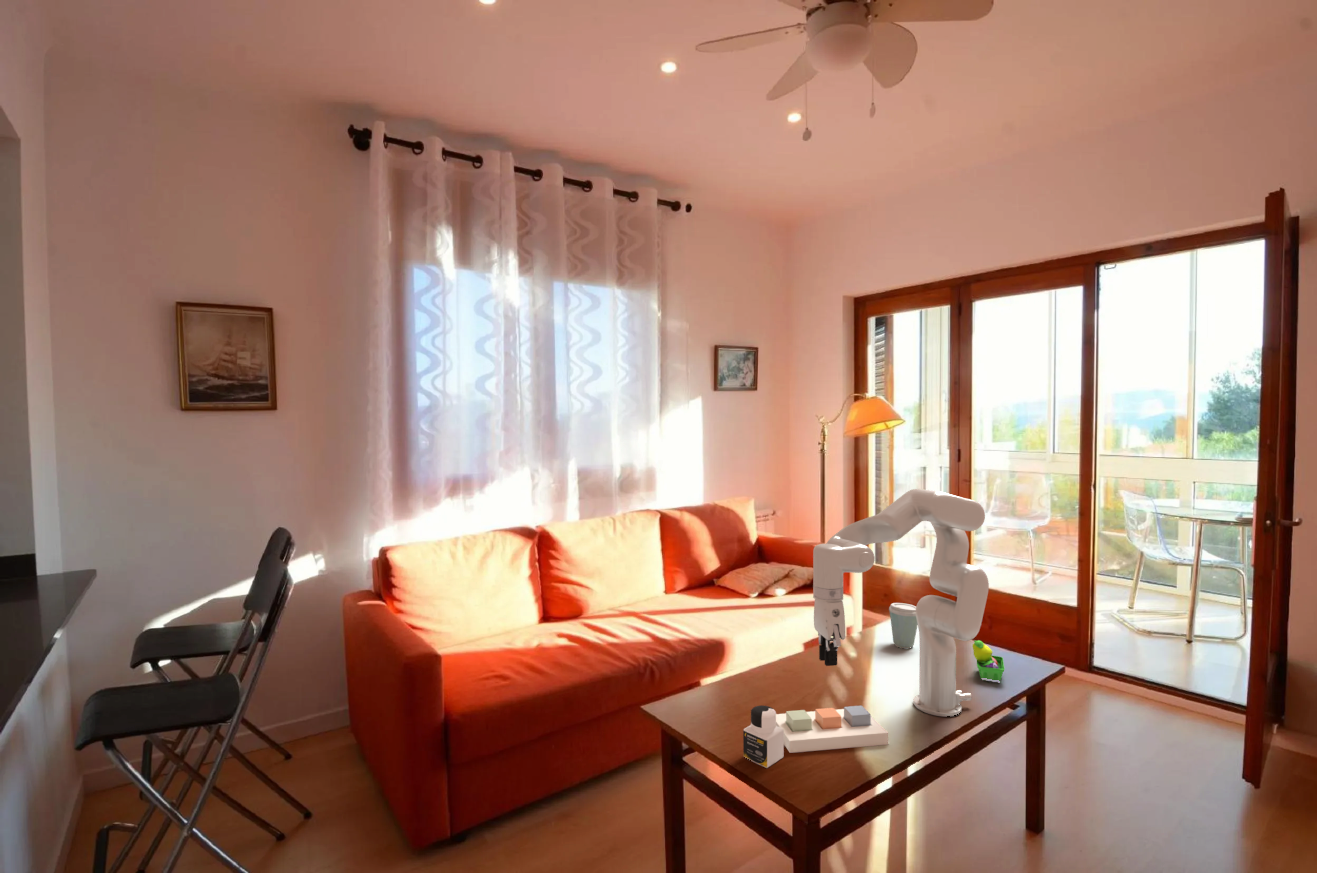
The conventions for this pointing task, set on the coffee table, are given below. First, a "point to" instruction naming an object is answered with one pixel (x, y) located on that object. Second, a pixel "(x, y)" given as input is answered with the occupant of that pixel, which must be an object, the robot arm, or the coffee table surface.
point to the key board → (831, 735)
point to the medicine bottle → (763, 737)
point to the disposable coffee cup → (903, 624)
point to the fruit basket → (988, 662)
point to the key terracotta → (828, 718)
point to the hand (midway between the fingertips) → (828, 662)
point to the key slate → (857, 716)
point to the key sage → (798, 720)
